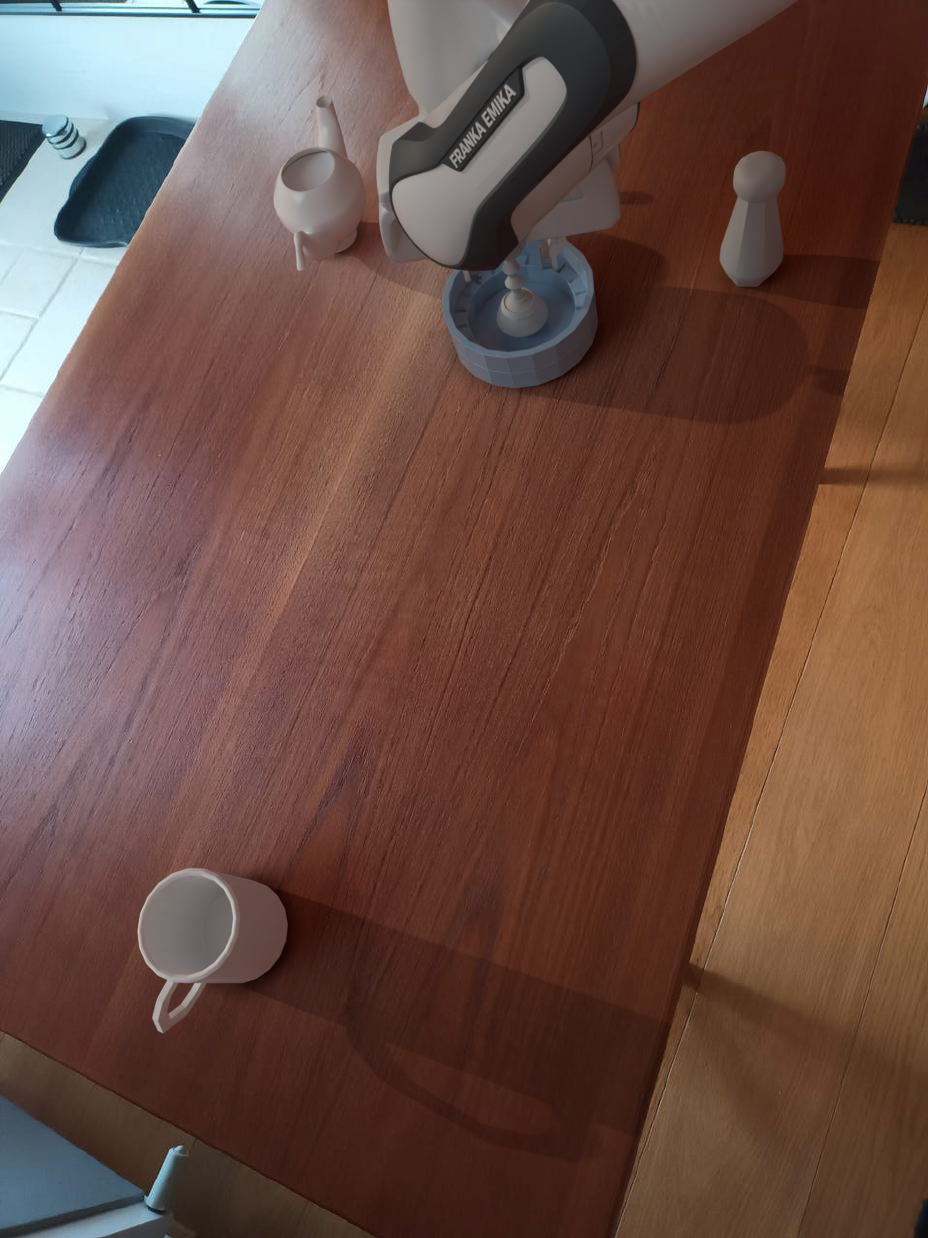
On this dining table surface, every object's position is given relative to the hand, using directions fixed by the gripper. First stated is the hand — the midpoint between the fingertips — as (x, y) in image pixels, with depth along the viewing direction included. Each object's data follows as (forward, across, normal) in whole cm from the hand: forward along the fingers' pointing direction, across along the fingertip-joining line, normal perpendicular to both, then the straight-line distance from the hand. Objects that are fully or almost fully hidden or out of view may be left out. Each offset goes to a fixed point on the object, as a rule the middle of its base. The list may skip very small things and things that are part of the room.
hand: (511, 269), depth 87 cm
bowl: (+9, 0, 0) cm, 9 cm away
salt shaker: (+9, -22, -3) cm, 24 cm away
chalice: (+7, 0, 0) cm, 7 cm away
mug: (+9, +27, +58) cm, 65 cm away
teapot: (+9, +20, -16) cm, 27 cm away
